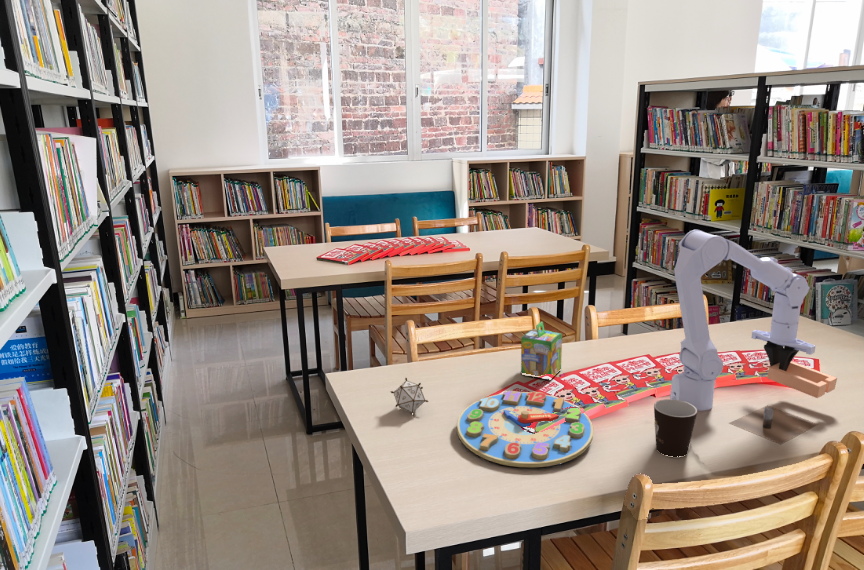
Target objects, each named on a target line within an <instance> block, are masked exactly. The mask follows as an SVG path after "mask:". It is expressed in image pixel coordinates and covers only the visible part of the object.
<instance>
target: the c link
mask: <svg viewBox="0 0 864 570" xmlns="http://www.w3.org/2000/svg"><path fill="white" fill-rule="evenodd" d="M779 364H780V363H778V364H775V365H773V366H771V367H770V366H769V367H768V371H767V376H766V377H767V378H766V379H768V380H771V381H772V382H775V383H778V384H780V385H783V386H785V387H788V388H791V389H793V390H796V391H798V392H800V393H803V394H806V395H808V396H811V397H812V398H815V399H818V398H820V397H822V396H824V395H825V394H827V393H828V394H829V393H830V392H832V391H834V390H835V388H836V384H837V380H838V377H835V376H833V375H830V374H827V373H826V372H825V373H824V372H821V371H819V370H816V369H814V368H812V367H809V366H806V365H803V364H800V363H797V362H795V361H793V360H792V361H791V363H790V364H789V366H788V369H787V371H784V370H781V369H779Z"/></svg>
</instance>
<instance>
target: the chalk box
mask: <svg viewBox="0 0 864 570" xmlns="http://www.w3.org/2000/svg"><path fill="white" fill-rule="evenodd" d="M535 327H536V329H535V328H533V329H530V330H529V331H528V332H527V333H525V334H524V335H522V336H521V337H520V341H521V342H520V343H521V345H520V346H521V347H520V349H521V353H520V355H521V357H520V358H521V359H520V360H521V361H520V368H521V369H520V373H521V372H522V373H526V374H531V375H535V376H541V375H545V374H553V375H556V374H557V372H558V371H559V370H560V369H561V370H562V357H563V356H562V353H563V352H562V351H563V333H560V332H554V331H551V330H545V327H544V321H540V322H538V323H537V324H536V325H535ZM540 328H541V329H540ZM557 375H558V374H557ZM557 375H556V376H557Z"/></svg>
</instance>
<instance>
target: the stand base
mask: <svg viewBox="0 0 864 570" xmlns="http://www.w3.org/2000/svg"><path fill="white" fill-rule="evenodd" d="M765 407H770V408H773V409H774V411H773V419H772V427H771V429H766V428H764V427H763V418H764V410H765ZM729 424H730V425H733V427H737V428H740V429H742V430H744V431H747V432H750V433H751V434H755V435H756V436H759V437H762V438H764V439H767V440H769V441H771V442H773V443H776V444H779V445H782V444H784V443H786V442H788V441H789V440H792V439H793V438H795V437H797V436H799V435H801V434H804V433H805V432H807V431H809V430H811V429H812V428H814V427H816V426H819V423H816V422H814V421H811V420H809V419H805V418H803V417H800V416H798V415H795V414H792V413H789V412H786V411H784V410H781V409H779V408H776V407H774V406H770V405H765V406H763V407H761V408H758V409H756V410H755V411H752V412H750V413H748V414H746V415H744V416H741V417H739V418H736V419H734V420H733V421H730V422H729Z"/></svg>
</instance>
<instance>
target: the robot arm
mask: <svg viewBox="0 0 864 570" xmlns="http://www.w3.org/2000/svg"><path fill="white" fill-rule="evenodd" d="M678 248H679V253H678V256H677V261H676V264H675V267H674V278H675V285H676V289H677V290H676V291H677V297H678V302H679V308H680V315H681V321H682V326H683V332H684V337H685V338H684V339H683V340H681V341H680V352H679V355H678V356H679V361H680V363H681V364H682V365H683V369H682V370H683V372H681V373H678V374H673V376H672V378H671V386H670V394H669V395H670V397H669V399H674V400H680V401H684V402H687V403H690V404H691V405H693V406H694V407H695V408H696V409H697V411H701V412H702V411H709V410H711V409H713V405H714V397H715V396H714V393H715V385H716V380H717V378H718V377H719V376H721V374H722V372H723V369H724V363H723V362H724V361H723V360H722V358H721V357H720V356H719V354H718V349H717V347H716V346H715V344H714V342H713V341H712V340H711V337H710V336H711V335H710V329H709V324H708V318H707V317H708V316H707V312H706V304H705V298H704V291H703V285H702V279H701V277H702V276H703V275H705V273H708V272H709V271H710V270H711V269H713V268H714V267H715V266H717V265H719V264H720V263H721V262H722V261H723V260H724V261H728V260H731V261H733V262H735V263H737V264H739V265H741V266H743V267H745V268H746V269H748V270H749V271H750V276H751V277H752V278H753V279H755V280H756V281H758V282H759V283H761V284H763V285H765V286H767V287H768V288H769V289H771V291H772V292H775V293H774V299H773V307H772V316H771V322H770V323H771V324H770V330H769V331H765V330H764V331H763V330H759V329H754V330H752V331H751V339H752V340H753V339H754V340H761V341H763V342H766V344H764V345H763V349H764V351H765V354H766V355H767V358H768V361H769V362H768V363H769V367H771V366H773V365H775V364H778V363H780V364H779V369H781V370H784V371H787V369H788V366H789V364H790V363H791V361H792V362H793V359H794V358H795V356H796V355H797V354H798V353H800V352H803V353H805V354H806V355H814V354H815V353H816V345H815V344H811V343H809V342H807V341H804V340H801V339H799V338H797V336H798V330H799V329H798V328H799V322H800V314H801V306H802V304H804V299H805V297H806V296H807V295H808V293H809V291H810V288H811V287H810V286H809V283H808V281H807V279H806V278H805V277H804V276H802V275H800V274H797V273H793V269H792V268H791V267H788V266H783V265H781V264H780V263H778V261H779V260H778V259H777V258H775V257H773V256H770V257H767V256H764V257H760V258H759V257H758V256H756V255H755V254H753V253H752V252H750V251H748V250H746V248H744V247H742V245H739V244H738V243H736V242H735V241H732V240H729V239H726V238H724V237H723V236H721V235H714V234H711V233H707V232H705V231H704V230H700V229H693V230H689V232H687V233H686V234H685V235H684V236H683V237H682V239H681V240H680V241H679V242H678Z"/></svg>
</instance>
